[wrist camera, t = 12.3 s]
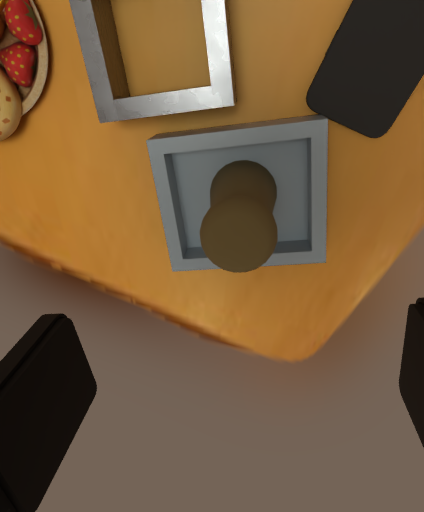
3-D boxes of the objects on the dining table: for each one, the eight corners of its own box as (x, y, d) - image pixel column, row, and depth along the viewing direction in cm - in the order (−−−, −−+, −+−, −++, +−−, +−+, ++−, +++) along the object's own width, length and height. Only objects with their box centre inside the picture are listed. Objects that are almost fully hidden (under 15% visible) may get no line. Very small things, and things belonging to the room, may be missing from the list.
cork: (259, 234, 34) (260, 299, 24) (200, 209, 33) (176, 266, 23) (289, 176, 31) (304, 223, 21) (225, 148, 30) (210, 183, 21)
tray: (320, 114, 29) (327, 118, 26) (319, 245, 35) (325, 262, 31) (157, 133, 32) (146, 140, 28) (179, 254, 37) (172, 271, 34)
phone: (522, -81, 23) (381, 143, 29) (514, -76, 23) (378, 141, 30) (420, -137, 22) (300, 105, 29) (415, -130, 23) (299, 104, 30)
